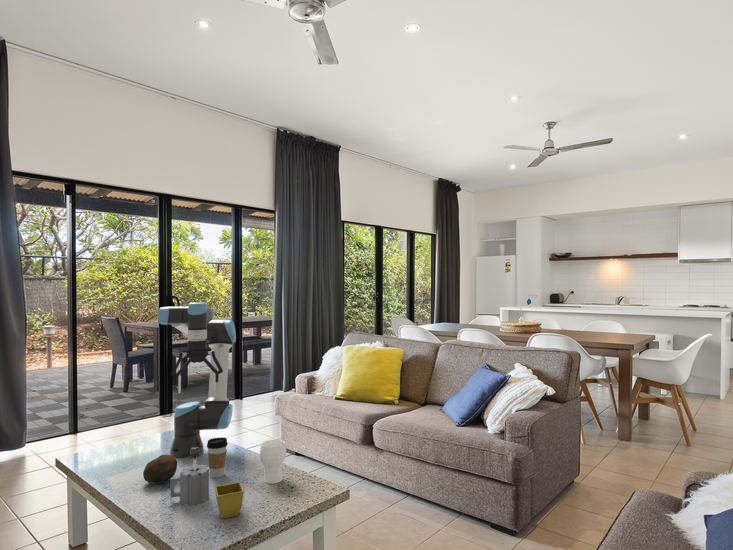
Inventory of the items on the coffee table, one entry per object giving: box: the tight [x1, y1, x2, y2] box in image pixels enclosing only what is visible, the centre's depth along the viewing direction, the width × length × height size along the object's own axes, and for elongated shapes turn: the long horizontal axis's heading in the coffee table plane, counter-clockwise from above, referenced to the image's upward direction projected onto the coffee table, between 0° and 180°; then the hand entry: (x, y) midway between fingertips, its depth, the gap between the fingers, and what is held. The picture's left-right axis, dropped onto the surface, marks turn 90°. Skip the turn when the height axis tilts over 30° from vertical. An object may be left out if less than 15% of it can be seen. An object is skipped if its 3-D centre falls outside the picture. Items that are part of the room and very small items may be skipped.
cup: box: [259, 439, 287, 484], centre depth 192 cm, size 11×11×15 cm
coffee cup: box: [206, 437, 228, 479], centre depth 197 cm, size 8×8×15 cm
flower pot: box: [214, 481, 245, 519], centre depth 162 cm, size 9×9×9 cm
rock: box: [142, 454, 178, 484], centre depth 191 cm, size 14×11×10 cm
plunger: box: [189, 447, 201, 471], centre depth 175 cm, size 6×6×17 cm
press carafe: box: [170, 464, 210, 506], centre depth 174 cm, size 10×14×11 cm
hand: (197, 391), depth 192 cm, fingers open, 13 cm apart
